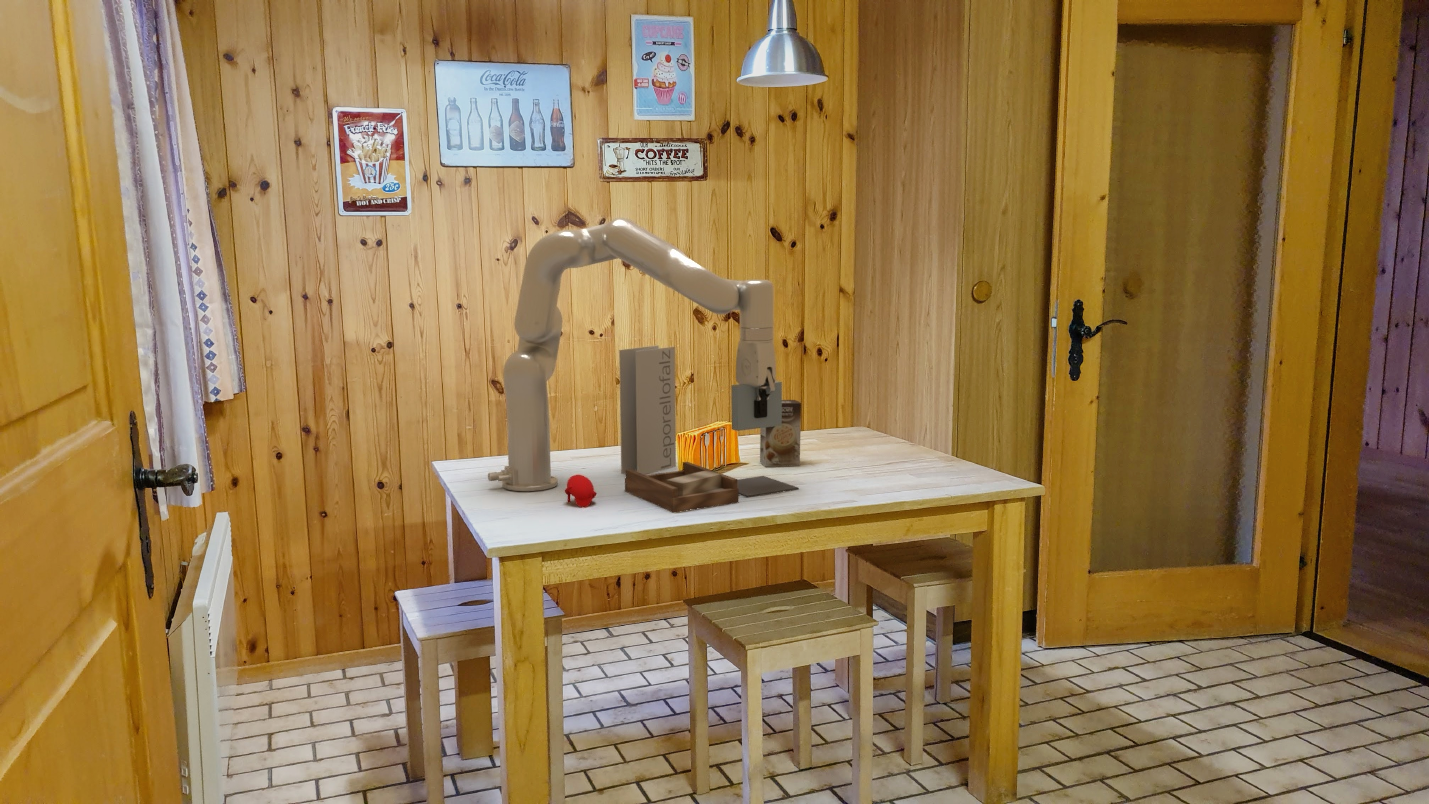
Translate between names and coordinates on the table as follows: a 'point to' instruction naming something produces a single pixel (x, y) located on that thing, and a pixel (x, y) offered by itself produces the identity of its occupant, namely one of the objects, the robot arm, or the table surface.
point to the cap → (580, 490)
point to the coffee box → (782, 438)
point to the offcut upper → (696, 482)
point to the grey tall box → (647, 409)
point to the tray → (667, 495)
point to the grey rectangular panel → (744, 407)
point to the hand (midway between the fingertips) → (756, 415)
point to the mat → (761, 486)
